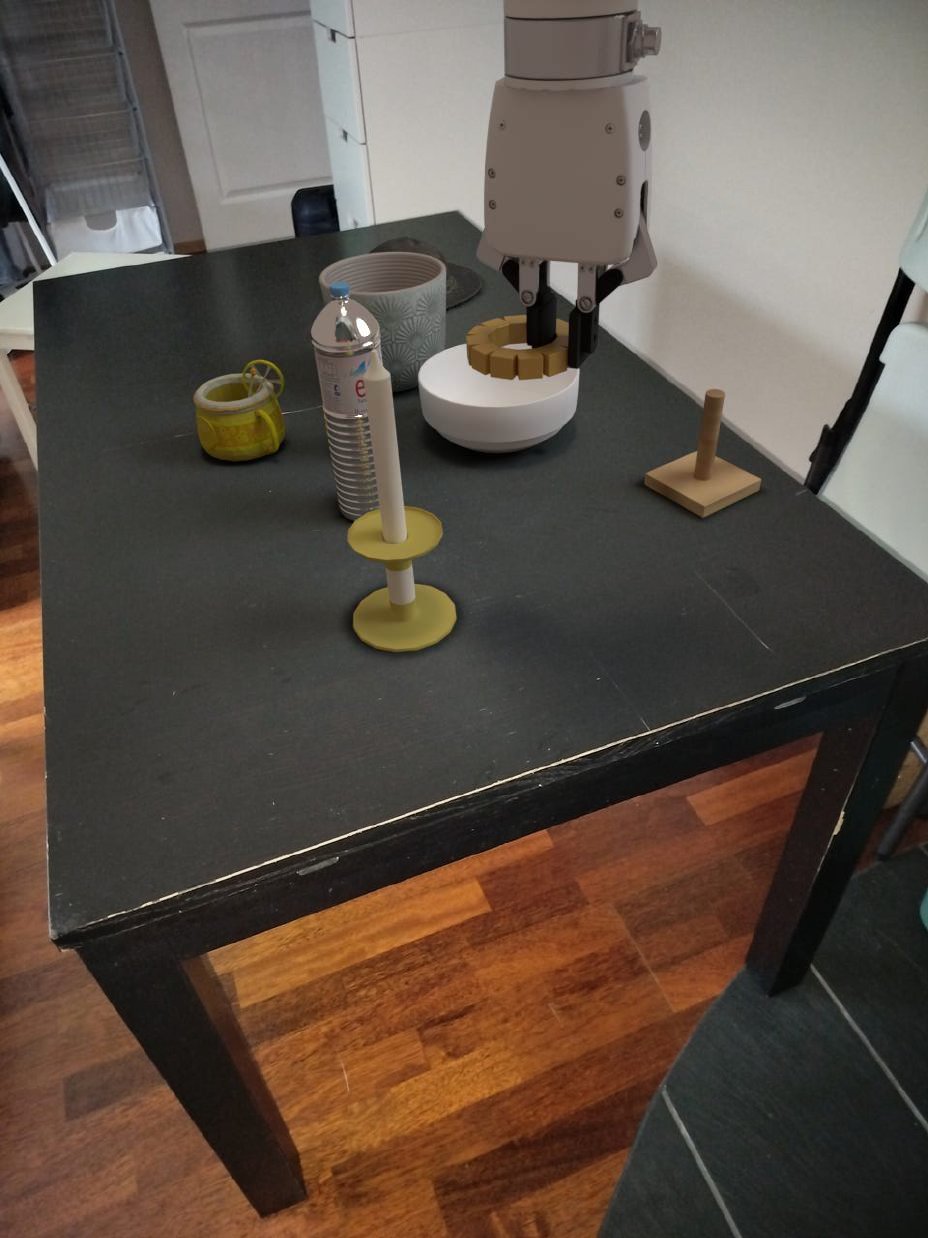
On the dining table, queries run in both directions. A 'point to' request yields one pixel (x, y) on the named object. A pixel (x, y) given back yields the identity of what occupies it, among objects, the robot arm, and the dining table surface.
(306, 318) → the dining table surface
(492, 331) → the ring
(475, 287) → the hat
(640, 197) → the robot arm
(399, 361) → the planter
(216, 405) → the mug
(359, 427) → the water bottle
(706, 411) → the peg stand
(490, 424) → the bowl
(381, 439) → the candle
